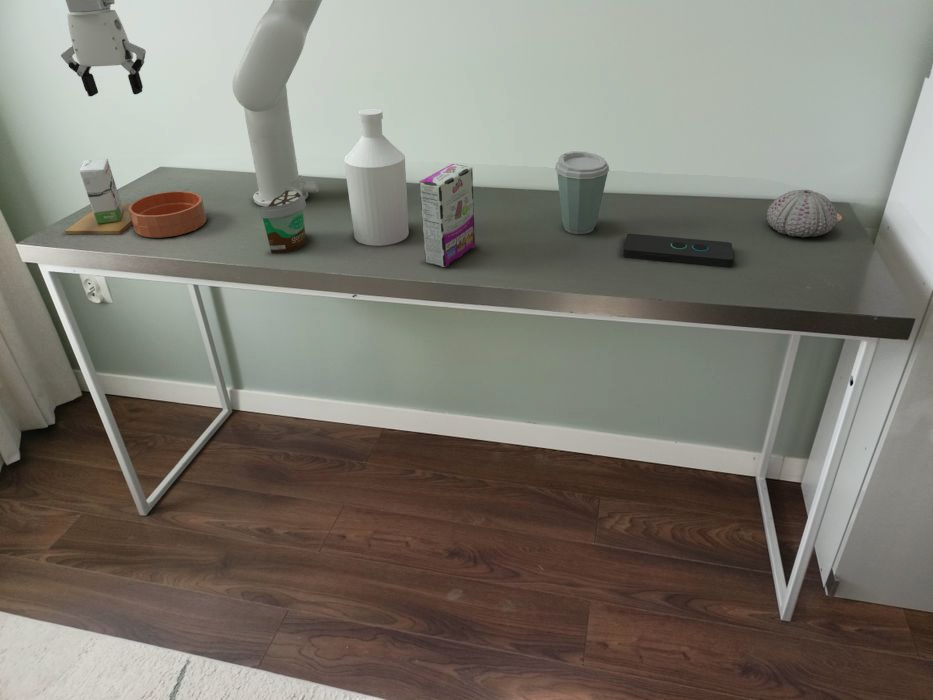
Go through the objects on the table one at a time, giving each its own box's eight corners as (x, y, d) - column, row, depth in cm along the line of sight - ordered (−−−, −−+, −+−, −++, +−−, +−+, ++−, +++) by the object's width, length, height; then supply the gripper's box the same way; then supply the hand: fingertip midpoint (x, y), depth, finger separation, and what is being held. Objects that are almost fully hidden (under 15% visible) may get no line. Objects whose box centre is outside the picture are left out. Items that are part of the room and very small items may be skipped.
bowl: (216, 212, 158) (211, 191, 155) (191, 238, 146) (185, 216, 143) (152, 212, 159) (146, 191, 156) (122, 238, 146) (115, 216, 144)
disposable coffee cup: (613, 227, 146) (620, 156, 138) (584, 243, 140) (589, 170, 131) (572, 215, 152) (576, 146, 144) (542, 230, 146) (544, 159, 138)
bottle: (379, 251, 139) (366, 123, 125) (341, 235, 145) (325, 113, 132) (421, 233, 146) (414, 110, 132) (383, 219, 153) (373, 100, 139)
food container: (297, 258, 137) (289, 209, 131) (268, 256, 138) (258, 208, 132) (320, 233, 147) (313, 187, 141) (293, 231, 148) (285, 185, 142)
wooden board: (152, 206, 162) (151, 203, 161) (120, 234, 148) (119, 230, 148) (102, 206, 163) (101, 203, 162) (66, 234, 149) (64, 230, 149)
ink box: (120, 221, 152) (104, 168, 146) (96, 225, 151) (78, 171, 145) (123, 208, 159) (108, 156, 153) (100, 211, 158) (83, 159, 151)
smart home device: (733, 259, 128) (623, 249, 133) (732, 267, 129) (622, 257, 134) (732, 241, 135) (627, 232, 140) (730, 249, 136) (626, 240, 141)
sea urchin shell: (760, 236, 141) (768, 198, 137) (767, 212, 151) (775, 176, 147) (832, 246, 136) (843, 207, 132) (834, 222, 146) (844, 185, 142)
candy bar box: (454, 242, 142) (451, 162, 133) (475, 247, 139) (474, 166, 130) (423, 263, 134) (417, 180, 125) (444, 269, 131) (441, 184, 122)
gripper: (138, 0, 141) (162, 88, 150) (55, 4, 142) (84, 91, 151) (122, 4, 135) (148, 96, 144) (35, 9, 136) (67, 100, 145)
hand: (115, 93), depth 148 cm, fingers open, 9 cm apart
